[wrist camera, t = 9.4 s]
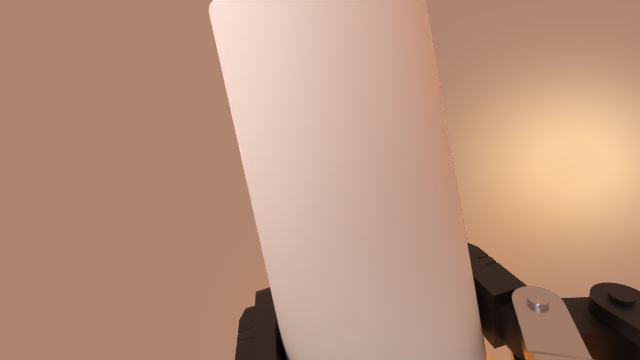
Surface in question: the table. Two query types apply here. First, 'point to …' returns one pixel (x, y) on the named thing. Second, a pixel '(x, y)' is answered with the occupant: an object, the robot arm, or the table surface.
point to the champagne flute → (350, 177)
